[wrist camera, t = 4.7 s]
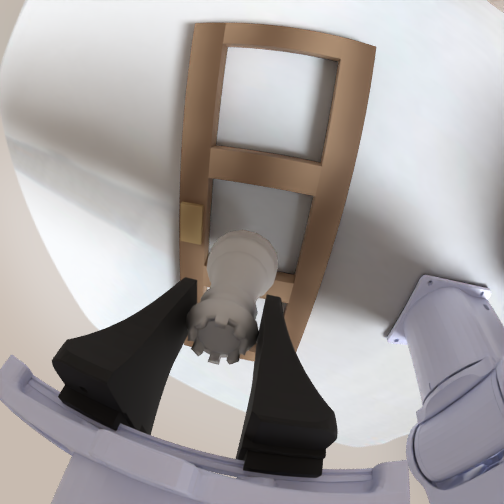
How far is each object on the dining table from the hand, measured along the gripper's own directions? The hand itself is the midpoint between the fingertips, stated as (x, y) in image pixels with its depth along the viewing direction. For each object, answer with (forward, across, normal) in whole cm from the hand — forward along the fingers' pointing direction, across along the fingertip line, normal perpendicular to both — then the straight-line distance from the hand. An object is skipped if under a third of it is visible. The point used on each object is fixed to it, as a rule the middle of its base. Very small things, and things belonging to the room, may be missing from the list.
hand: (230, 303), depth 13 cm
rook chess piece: (+6, 0, +1) cm, 6 cm away
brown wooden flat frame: (+8, 0, 0) cm, 8 cm away
